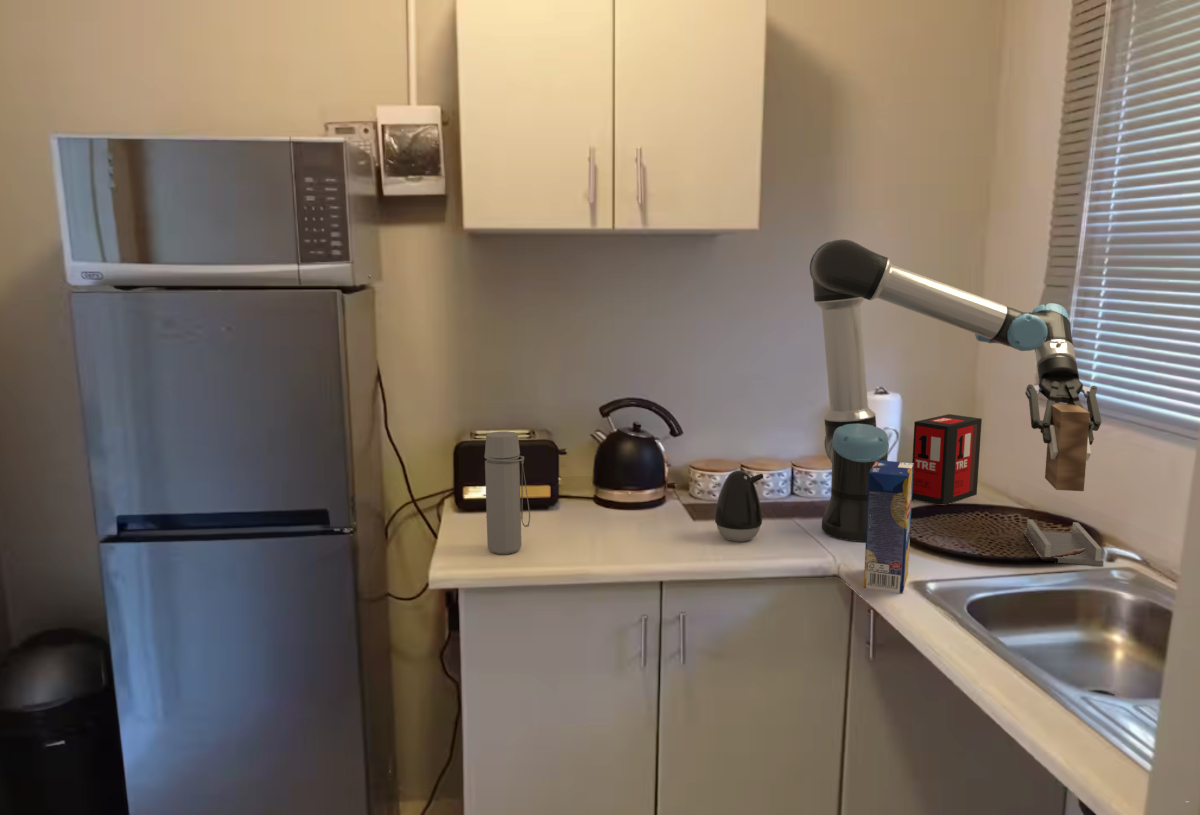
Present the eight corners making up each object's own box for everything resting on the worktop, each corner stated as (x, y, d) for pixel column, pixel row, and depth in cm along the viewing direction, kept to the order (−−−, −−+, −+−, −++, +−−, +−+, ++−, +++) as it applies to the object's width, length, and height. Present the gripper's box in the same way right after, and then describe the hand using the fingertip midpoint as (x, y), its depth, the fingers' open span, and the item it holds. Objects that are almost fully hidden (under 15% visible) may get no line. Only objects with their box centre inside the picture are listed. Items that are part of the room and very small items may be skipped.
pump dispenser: (767, 544, 183) (769, 475, 181) (719, 546, 183) (720, 476, 180) (756, 530, 193) (758, 464, 191) (710, 531, 193) (711, 465, 190)
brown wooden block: (1055, 489, 173) (1061, 411, 170) (1044, 477, 182) (1049, 403, 180) (1084, 491, 171) (1090, 412, 169) (1071, 479, 181) (1077, 404, 178)
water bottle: (488, 557, 177) (484, 438, 172) (486, 545, 184) (482, 431, 180) (532, 554, 178) (530, 436, 174) (528, 542, 186) (526, 429, 182)
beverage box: (907, 573, 165) (913, 462, 162) (902, 593, 155) (908, 476, 152) (871, 569, 168) (876, 459, 164) (863, 588, 158) (868, 472, 155)
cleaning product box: (944, 487, 228) (948, 414, 225) (976, 494, 222) (981, 418, 218) (910, 498, 218) (914, 421, 215) (943, 506, 211) (947, 426, 208)
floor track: (1041, 561, 172) (1043, 544, 171) (1023, 534, 189) (1025, 519, 188) (1103, 566, 169) (1104, 549, 168) (1079, 538, 186) (1080, 522, 185)
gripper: (1013, 354, 184) (1024, 444, 172) (1108, 355, 180) (1127, 447, 167) (1007, 375, 190) (1017, 464, 177) (1099, 376, 186) (1116, 468, 173)
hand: (1070, 456), depth 172 cm, fingers closed on brown wooden block, 5 cm apart
